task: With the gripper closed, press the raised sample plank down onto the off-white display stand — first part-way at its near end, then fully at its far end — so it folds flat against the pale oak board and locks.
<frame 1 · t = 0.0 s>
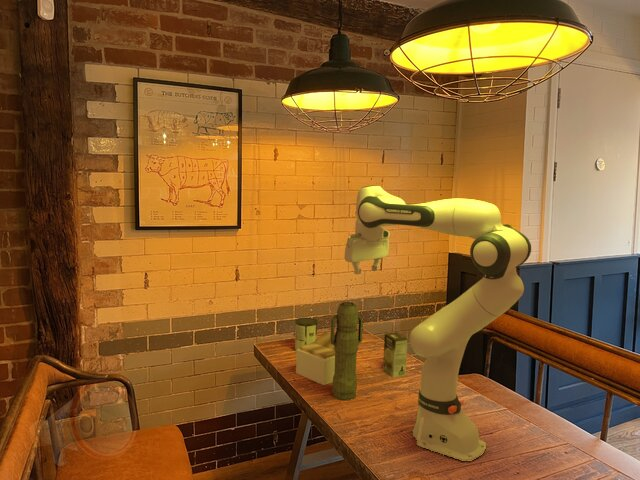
hand: (366, 272, 170), 48 cm above the table, fingers open, 8 cm apart
thermos: (344, 395, 182), on the table
laid board: (319, 350, 198), on the display stand, point 10 cm above the table
display stand: (325, 373, 202), on the table
coffee box: (394, 373, 205), on the table
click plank: (332, 342, 203), point 12 cm above the table, hinge at 28.0°
coffee can: (305, 350, 229), on the table
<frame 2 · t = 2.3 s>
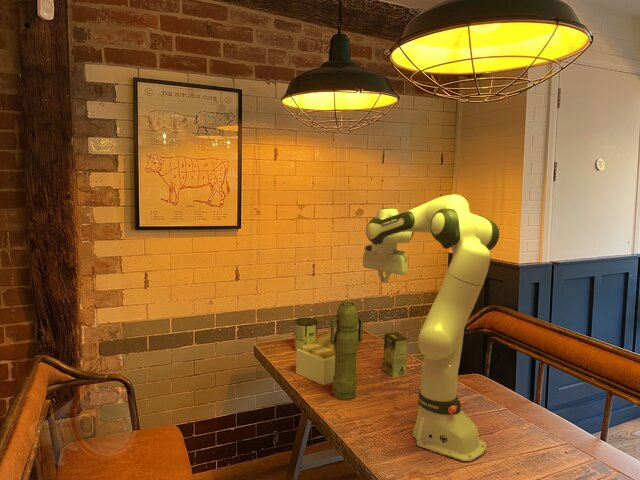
hand: (383, 282, 198), 39 cm above the table, fingers closed
nothing on the table moved.
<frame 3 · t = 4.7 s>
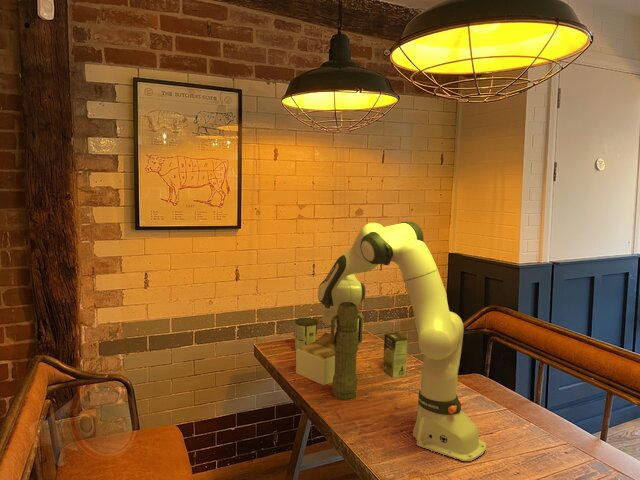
hand: (341, 338, 203), 14 cm above the table, fingers closed, pressing on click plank
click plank: (332, 342, 204), point 12 cm above the table, hinge at 22.9°, touching gripper
everything else where it was.
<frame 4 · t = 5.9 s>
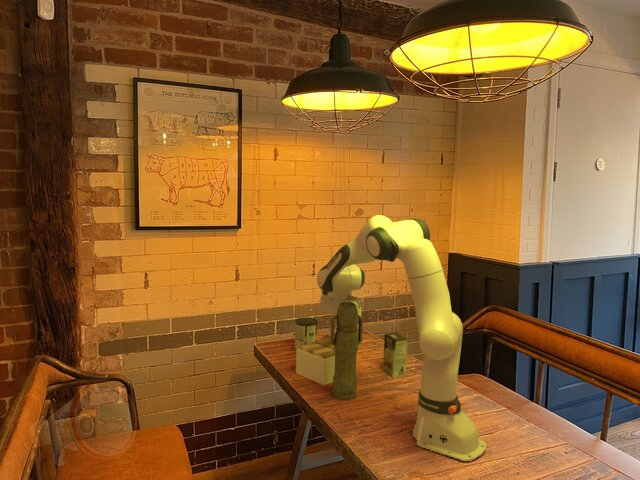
hand: (339, 325, 203), 19 cm above the table, fingers closed
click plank: (333, 343, 204), point 12 cm above the table, hinge at 13.0°
everything else where it was.
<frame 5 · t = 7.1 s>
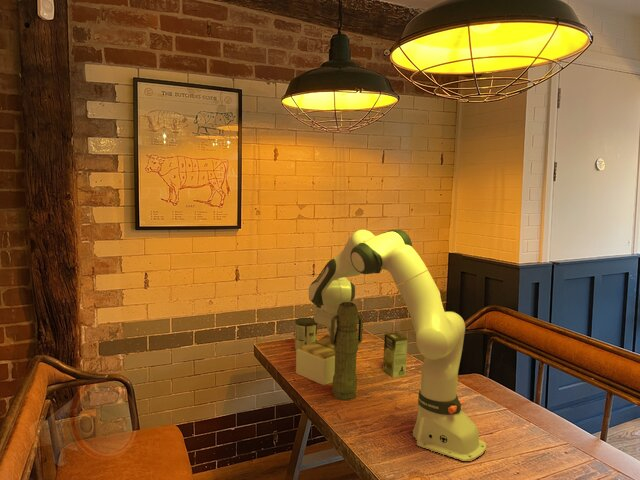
hand: (333, 337, 207), 13 cm above the table, fingers closed, pressing on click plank
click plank: (333, 343, 204), point 12 cm above the table, hinge at 13.0°, touching gripper
everything else where it was.
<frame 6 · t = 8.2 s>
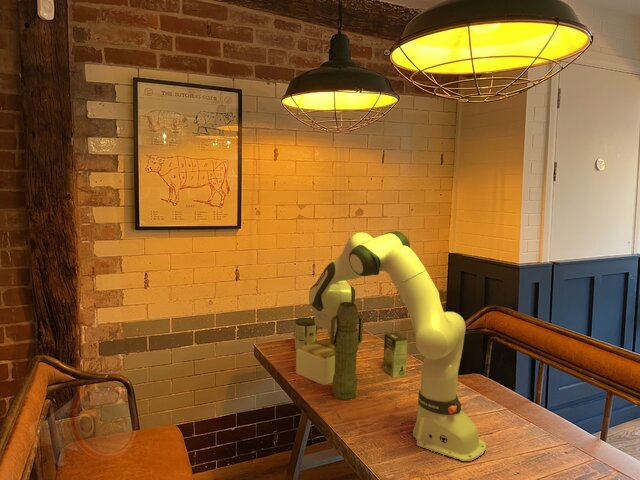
hand: (333, 340, 208), 11 cm above the table, fingers closed, pressing on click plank
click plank: (333, 345, 204), point 11 cm above the table, hinge at 0.0°, touching display stand, gripper
everything else where it was.
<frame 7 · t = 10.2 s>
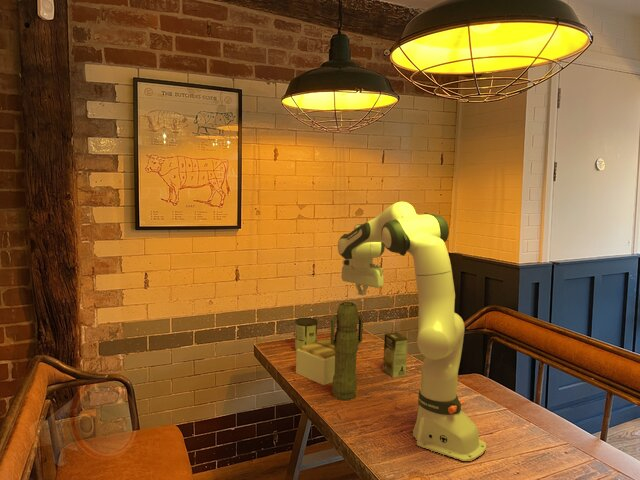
hand: (361, 294, 206), 32 cm above the table, fingers closed
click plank: (333, 345, 204), point 11 cm above the table, hinge at 0.0°
everything else where it was.
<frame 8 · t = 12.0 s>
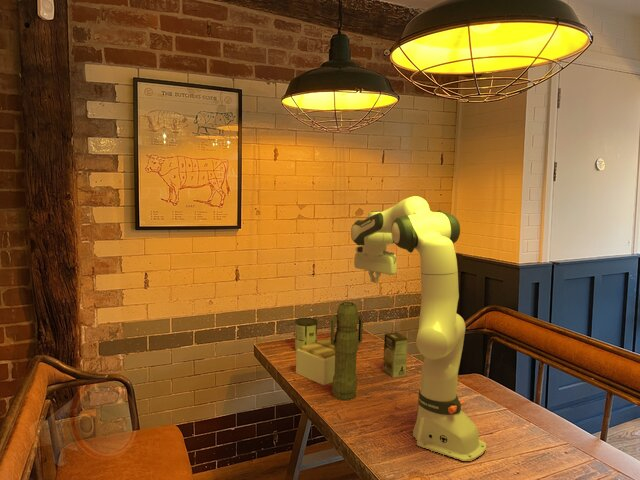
hand: (374, 282, 206), 37 cm above the table, fingers closed
nothing on the table moved.
at the end: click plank at +0° (first picture: +28°) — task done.
